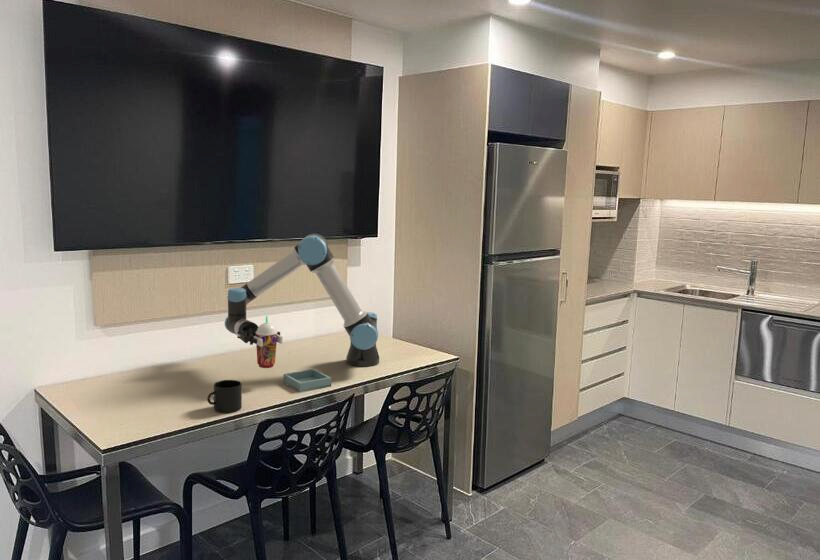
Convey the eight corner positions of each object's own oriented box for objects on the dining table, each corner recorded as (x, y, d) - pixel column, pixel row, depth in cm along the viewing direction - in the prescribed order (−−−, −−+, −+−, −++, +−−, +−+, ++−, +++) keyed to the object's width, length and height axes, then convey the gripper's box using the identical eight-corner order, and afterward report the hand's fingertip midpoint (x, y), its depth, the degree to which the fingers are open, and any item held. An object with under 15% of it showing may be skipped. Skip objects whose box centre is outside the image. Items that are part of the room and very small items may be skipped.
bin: (313, 376, 260) (313, 368, 259) (331, 386, 249) (331, 377, 249) (283, 382, 251) (283, 374, 251) (300, 392, 240) (300, 383, 240)
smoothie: (272, 370, 239) (272, 319, 237) (251, 368, 241) (252, 317, 238) (280, 364, 248) (281, 315, 245) (260, 362, 249) (261, 313, 246)
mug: (202, 408, 220) (202, 383, 218) (235, 402, 227) (235, 378, 226) (212, 416, 212) (212, 391, 211) (245, 410, 220) (245, 385, 218)
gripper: (269, 335, 263) (295, 347, 246) (223, 341, 251) (246, 355, 233) (269, 318, 262) (295, 328, 245) (222, 323, 250) (246, 335, 232)
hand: (271, 341), depth 239 cm, fingers closed on smoothie, 7 cm apart
